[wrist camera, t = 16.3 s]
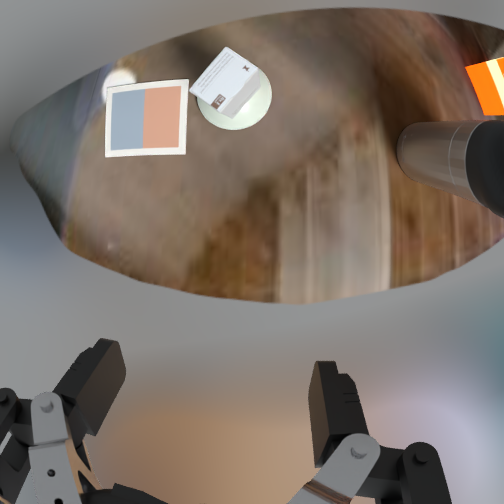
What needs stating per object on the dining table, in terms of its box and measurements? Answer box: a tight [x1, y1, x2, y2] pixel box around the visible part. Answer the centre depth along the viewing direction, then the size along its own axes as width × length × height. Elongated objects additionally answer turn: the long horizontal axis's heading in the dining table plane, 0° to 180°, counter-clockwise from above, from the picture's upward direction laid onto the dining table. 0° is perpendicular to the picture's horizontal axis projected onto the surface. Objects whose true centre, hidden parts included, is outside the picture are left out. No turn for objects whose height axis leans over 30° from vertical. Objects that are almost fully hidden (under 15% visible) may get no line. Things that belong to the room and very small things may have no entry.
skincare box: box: [189, 47, 261, 119], centre depth 30 cm, size 6×4×12 cm
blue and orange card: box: [105, 79, 189, 157], centre depth 38 cm, size 13×11×1 cm
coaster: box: [197, 69, 272, 130], centre depth 36 cm, size 10×10×1 cm
